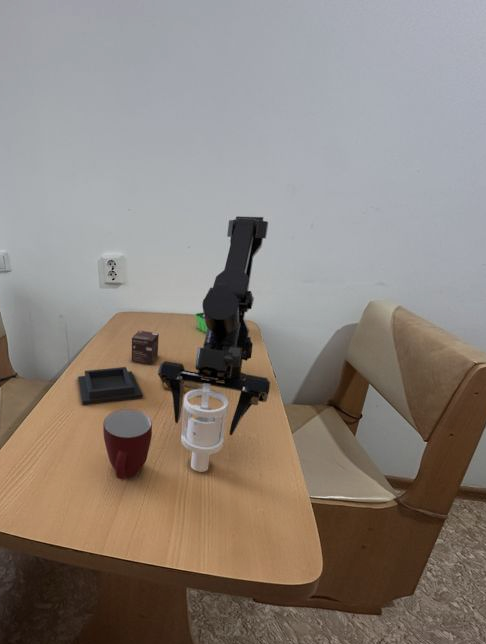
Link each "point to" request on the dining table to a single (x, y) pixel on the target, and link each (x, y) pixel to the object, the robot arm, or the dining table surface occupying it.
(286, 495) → the dining table surface
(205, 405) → the white stemmed open cylinder
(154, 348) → the box
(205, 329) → the fruit basket
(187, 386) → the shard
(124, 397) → the dock pad
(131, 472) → the mug
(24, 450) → the dining table surface
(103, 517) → the dining table surface
